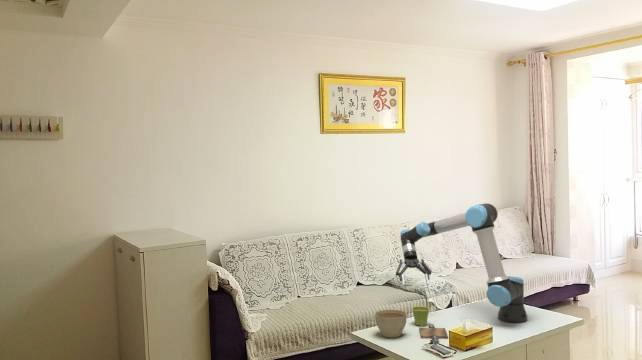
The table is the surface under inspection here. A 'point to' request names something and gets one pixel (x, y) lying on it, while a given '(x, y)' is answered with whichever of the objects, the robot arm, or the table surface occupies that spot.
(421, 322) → the plant pot
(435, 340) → the chain ends
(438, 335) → the pad
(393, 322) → the planter bowl
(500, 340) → the table surface
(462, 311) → the table surface
